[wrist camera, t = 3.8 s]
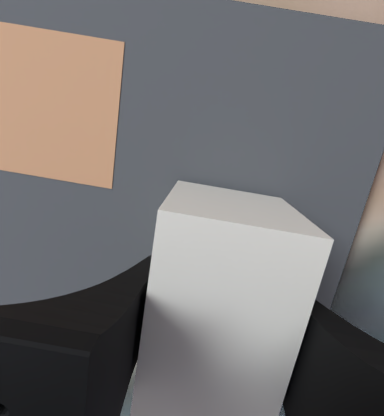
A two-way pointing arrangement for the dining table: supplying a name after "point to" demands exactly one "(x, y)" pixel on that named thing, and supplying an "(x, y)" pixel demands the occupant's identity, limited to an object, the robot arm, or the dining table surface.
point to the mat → (174, 126)
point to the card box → (225, 303)
